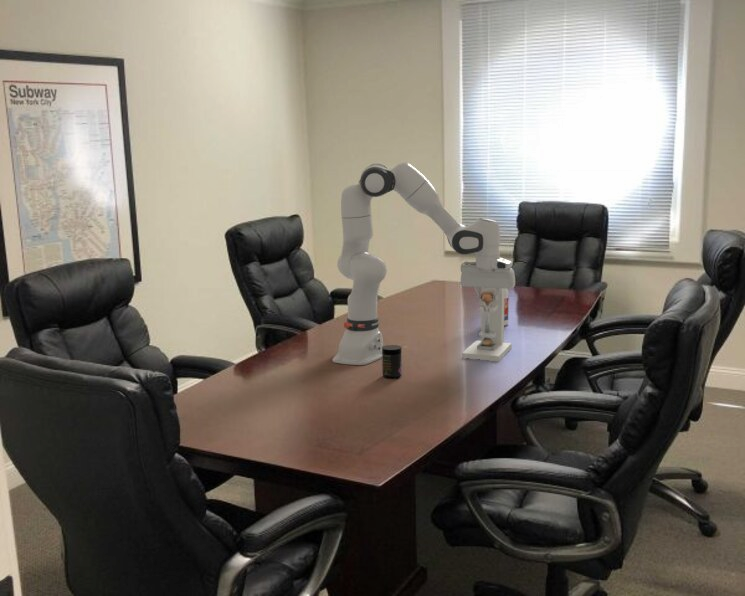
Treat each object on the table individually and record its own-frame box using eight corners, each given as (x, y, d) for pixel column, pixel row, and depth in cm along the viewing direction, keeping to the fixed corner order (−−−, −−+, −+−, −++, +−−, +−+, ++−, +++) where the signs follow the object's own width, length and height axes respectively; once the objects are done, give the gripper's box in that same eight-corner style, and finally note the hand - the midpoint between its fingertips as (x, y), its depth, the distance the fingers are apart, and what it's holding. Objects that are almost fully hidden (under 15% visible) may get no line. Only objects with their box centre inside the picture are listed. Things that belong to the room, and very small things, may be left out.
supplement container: (399, 380, 271) (398, 350, 269) (380, 378, 273) (379, 349, 271) (404, 374, 277) (403, 345, 275) (385, 373, 279) (384, 344, 277)
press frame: (499, 361, 291) (499, 280, 285) (461, 358, 296) (461, 278, 290) (511, 348, 309) (512, 271, 303) (476, 345, 314) (476, 269, 308)
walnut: (491, 349, 300) (491, 339, 299) (480, 348, 301) (480, 338, 300) (493, 347, 303) (493, 336, 302) (483, 346, 305) (483, 336, 304)
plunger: (493, 338, 297) (493, 294, 294) (477, 337, 300) (477, 293, 296) (497, 335, 303) (497, 291, 300) (481, 334, 305) (481, 291, 302)
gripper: (458, 262, 297) (458, 299, 300) (512, 264, 289) (512, 302, 292) (463, 260, 303) (463, 296, 305) (516, 262, 295) (516, 299, 298)
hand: (487, 299), depth 298 cm, fingers closed on plunger, 4 cm apart
